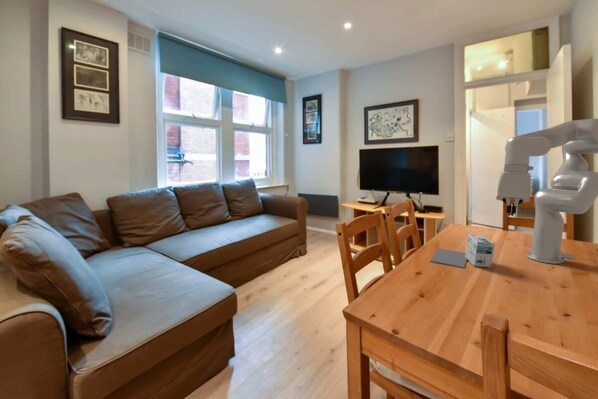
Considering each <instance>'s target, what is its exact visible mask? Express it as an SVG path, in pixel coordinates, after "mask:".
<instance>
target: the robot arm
mask: <svg viewBox="0 0 598 399" xmlns="http://www.w3.org/2000/svg"><path fill="white" fill-rule="evenodd" d="M559 147H561V153H562V160H563V161H562V164H561V166H560V167H559V169H558V170H557V171H556V172H555V174H554V176H553V177H552V179H551V181H550V183H549V185H550V188H549V187H548V188H541V189H540V190H538V191H537V192H535V195H534V197H533V198H534V199H533V200H534V201H533V202H534V208H535V214H534V215H535V216H534V217H535V218H534V225H533V226H534V228H533V234H532V235H533V236H532V241H531V242H532V244H531V250H530V251H528V252H526V257H527V258H528V259H531V260H533V261H536V262H540V263H545V264H554V265H557V264H558V265H559V264H564V263H565V259H567V260H573V261H574V260H576V255H574V254H570V253H564V252H563V251H562V250H561V249H562V242H563V233H564V227H565V220H564V218H563V215H562V213H566V214H573V215H583V214H584V213H585V214H586V212H587V211H588V210H589V209H590V208H591V206H592V205H593V203H594V202H595V200H596V199H597V198H598V172H597V171H593V170H592V171H591V170H589V167H590V166H589V163H588V161H587V160H586V159H585V158H584V157H583V156H582V155H583V154H584V155H586V154H587V155H589V154H591V155H592V154H596V155H597V154H598V118H588V119H587V118H586V119H576V120H569V121H565V122H561V123H560V124H556V125H555V126H551V127H548V128H545V129H541V130H536V131H533V132H528V133H524V134H521V135H517V136H514V137H509V138H508V139H507V140H506V144H505V146H504V150H505V154H504V155H505V156H504V167H503V172H501V173H500V176H499V179H498V180H499V181H498V183H497V184H498V185H497V191H496V192H497V195H496V198H495V199H496V200H497V201H501V202H503V203H504V204H505V205H506V211H505V212H506V214H507V216H509V217H510V216H511V217H512V216H514V215H516V214H517V207H518V206H519V205H521V204H522V203H529V202H531V197H530V196H531V190H532V189H531V185H532V182H531V181H532V180H531V179H532V178H531V176H532V175H531V172H530V171H534V166H531V165H530V160H531V157H542V156H545V155H546V154H548V153H549V152H550V151H551V149H556V148H559ZM511 199H514V202H513V203H511Z"/></svg>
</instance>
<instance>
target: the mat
mask: <svg viewBox="0 0 598 399" xmlns="http://www.w3.org/2000/svg"><path fill="white" fill-rule="evenodd" d="M467 261H468V259H467V258H466V257H465V252H464V251H463V252H461V251H457V250H450V249H445V248H437V250H436V251H435V253H434V254H433V256H432V257H431V258H430V260H429V263H434V264H441V265H445V266H451V267H456V268H460V269H461V268H462V269H465V267H466V263H467Z"/></svg>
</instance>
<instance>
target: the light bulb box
mask: <svg viewBox="0 0 598 399" xmlns="http://www.w3.org/2000/svg"><path fill="white" fill-rule="evenodd" d="M495 245H496V243H495V242H493V241H492V240H490V239H489V238H487V237H485V236H484V235H475V234H467V240H466V247H465V252H464V253H465V257H466V258H467V261H469V262H470V263H471V265H473V266H474V267H482V268H483V267H484V268H492V264H493V256H494V251H495Z"/></svg>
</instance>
